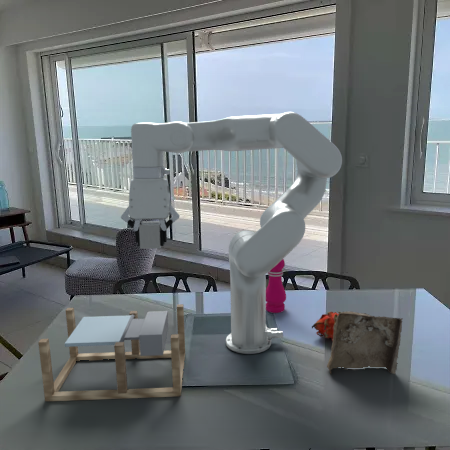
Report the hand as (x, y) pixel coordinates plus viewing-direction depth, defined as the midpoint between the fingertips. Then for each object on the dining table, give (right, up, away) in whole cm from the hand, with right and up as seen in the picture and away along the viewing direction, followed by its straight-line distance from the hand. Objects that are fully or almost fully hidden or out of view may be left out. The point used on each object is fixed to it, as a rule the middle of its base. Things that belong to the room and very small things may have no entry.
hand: (151, 244), depth 107 cm
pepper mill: (+36, -23, +32) cm, 53 cm away
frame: (-6, -31, -6) cm, 33 cm away
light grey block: (0, 0, 0) cm, 1 cm away
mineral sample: (+52, -31, -6) cm, 61 cm away
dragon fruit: (+49, -27, +10) cm, 57 cm away
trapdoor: (-6, -23, -8) cm, 25 cm away
